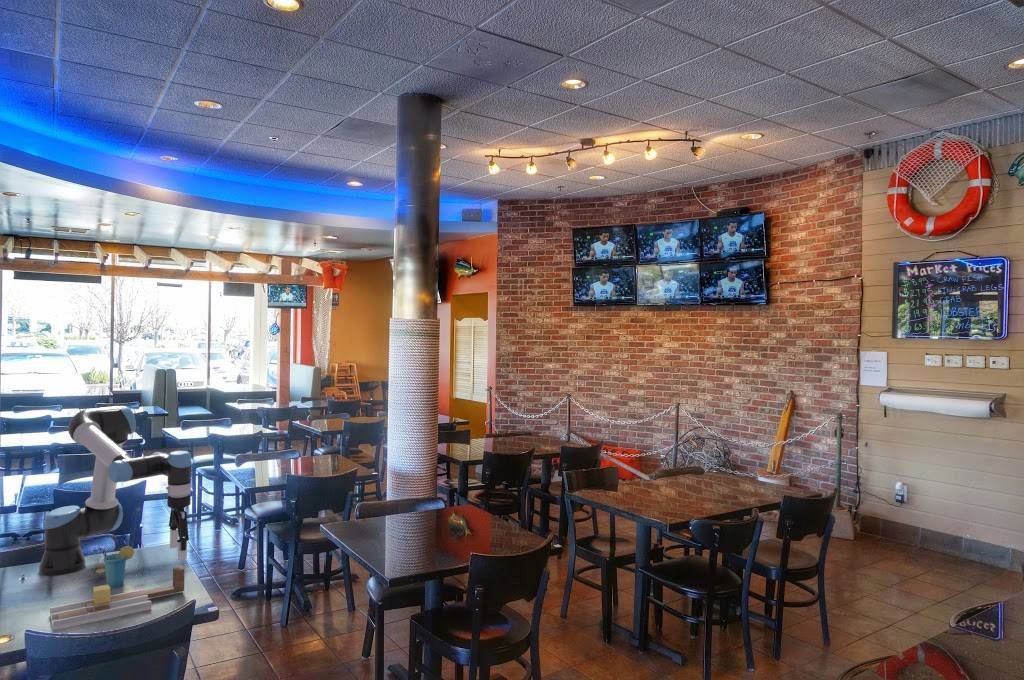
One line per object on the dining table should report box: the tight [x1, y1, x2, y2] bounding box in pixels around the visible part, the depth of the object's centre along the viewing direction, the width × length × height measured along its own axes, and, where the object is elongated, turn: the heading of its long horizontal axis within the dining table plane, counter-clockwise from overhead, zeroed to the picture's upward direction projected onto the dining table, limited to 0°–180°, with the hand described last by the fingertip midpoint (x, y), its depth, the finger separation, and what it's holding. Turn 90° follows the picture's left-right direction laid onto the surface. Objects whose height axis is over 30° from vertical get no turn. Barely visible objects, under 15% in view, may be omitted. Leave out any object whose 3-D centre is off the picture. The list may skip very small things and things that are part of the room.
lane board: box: [49, 588, 152, 631], centre depth 234 cm, size 13×28×3 cm, turn 127°
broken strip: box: [57, 604, 110, 620], centre depth 229 cm, size 4×14×2 cm, turn 127°
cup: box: [90, 545, 135, 589], centre depth 257 cm, size 14×8×15 cm, turn 129°
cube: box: [92, 584, 111, 605], centre depth 237 cm, size 4×4×4 cm
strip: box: [86, 565, 185, 607], centre depth 243 cm, size 4×30×8 cm, turn 127°
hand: (178, 553), depth 251 cm, fingers open, 13 cm apart
